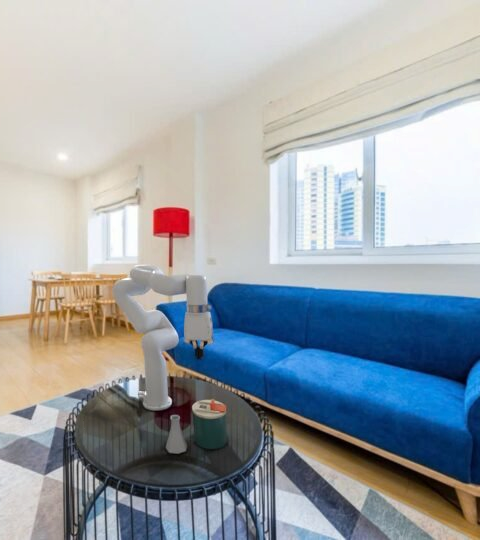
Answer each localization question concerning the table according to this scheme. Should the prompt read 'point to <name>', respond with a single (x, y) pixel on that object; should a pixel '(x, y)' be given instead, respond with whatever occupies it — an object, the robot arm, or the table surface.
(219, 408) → the slider
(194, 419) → the sliding lid canister
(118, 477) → the table surface
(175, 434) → the flask
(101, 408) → the table surface
